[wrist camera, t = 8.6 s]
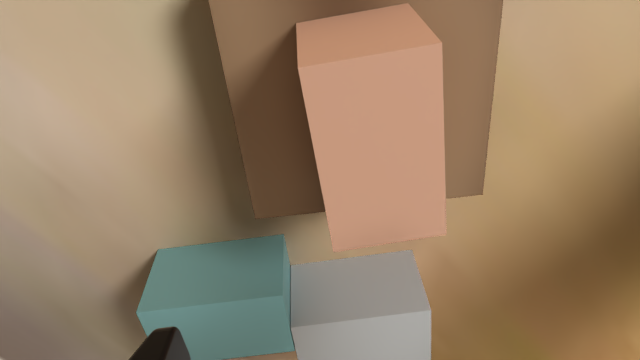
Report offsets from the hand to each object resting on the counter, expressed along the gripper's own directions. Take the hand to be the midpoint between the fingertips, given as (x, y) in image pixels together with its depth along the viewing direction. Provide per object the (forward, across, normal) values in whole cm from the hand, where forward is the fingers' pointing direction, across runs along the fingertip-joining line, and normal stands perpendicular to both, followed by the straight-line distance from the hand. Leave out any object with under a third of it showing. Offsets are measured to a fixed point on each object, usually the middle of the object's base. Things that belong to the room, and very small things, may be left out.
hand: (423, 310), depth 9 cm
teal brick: (+12, +7, +9) cm, 17 cm away
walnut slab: (+12, 0, 0) cm, 12 cm away
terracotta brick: (+9, 0, 0) cm, 9 cm away
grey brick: (+12, +1, +11) cm, 16 cm away
